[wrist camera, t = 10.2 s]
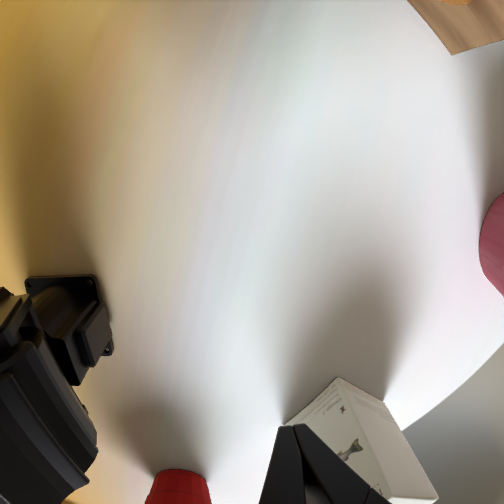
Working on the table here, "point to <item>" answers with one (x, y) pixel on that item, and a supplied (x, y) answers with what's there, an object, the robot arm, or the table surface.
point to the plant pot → (493, 244)
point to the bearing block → (463, 22)
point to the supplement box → (368, 442)
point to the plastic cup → (178, 488)
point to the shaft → (456, 2)
